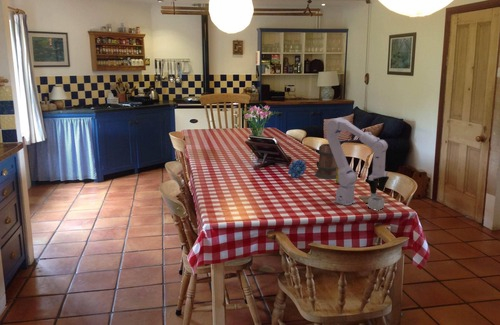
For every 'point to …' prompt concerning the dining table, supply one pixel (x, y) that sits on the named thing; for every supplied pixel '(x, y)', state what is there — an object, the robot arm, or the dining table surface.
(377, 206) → the sleeve
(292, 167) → the blue bumpy rounded lump
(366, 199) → the board
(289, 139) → the dining table surface
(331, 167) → the tankard
